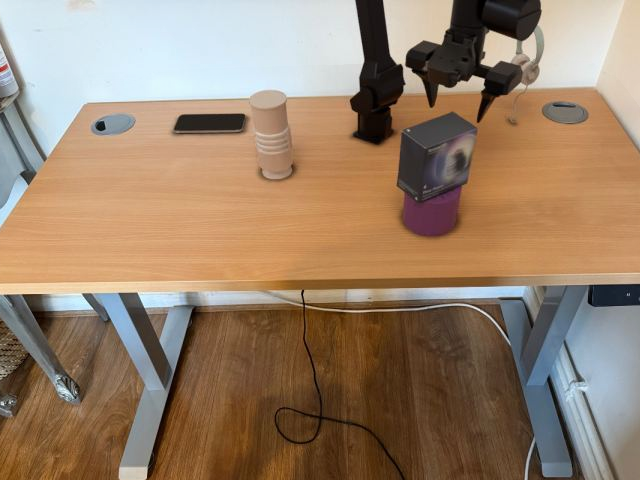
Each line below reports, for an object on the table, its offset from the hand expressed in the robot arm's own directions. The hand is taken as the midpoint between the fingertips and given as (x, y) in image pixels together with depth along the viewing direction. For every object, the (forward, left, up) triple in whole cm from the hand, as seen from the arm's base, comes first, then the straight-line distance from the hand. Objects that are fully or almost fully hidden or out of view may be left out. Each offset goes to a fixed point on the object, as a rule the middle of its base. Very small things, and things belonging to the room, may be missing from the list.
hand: (454, 114), depth 94 cm
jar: (+4, -14, -13) cm, 19 cm away
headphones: (+2, +25, -13) cm, 28 cm away
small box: (+4, -14, -6) cm, 15 cm away
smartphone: (-52, -13, -13) cm, 55 cm away
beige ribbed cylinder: (-28, -18, -13) cm, 35 cm away
